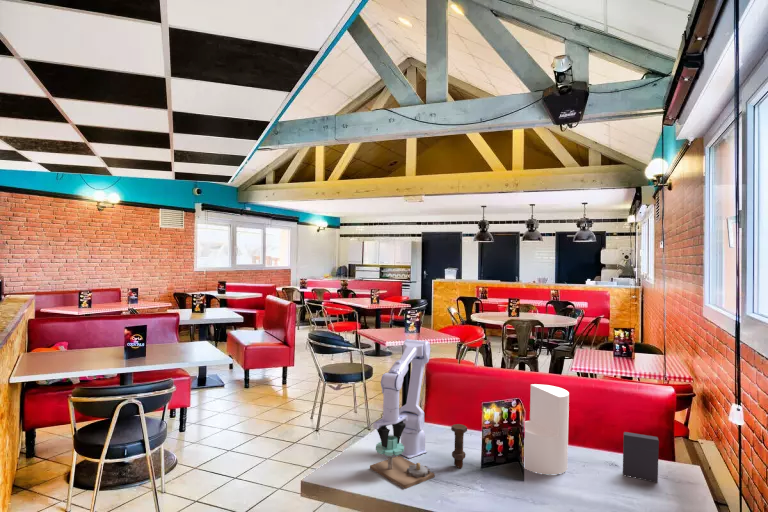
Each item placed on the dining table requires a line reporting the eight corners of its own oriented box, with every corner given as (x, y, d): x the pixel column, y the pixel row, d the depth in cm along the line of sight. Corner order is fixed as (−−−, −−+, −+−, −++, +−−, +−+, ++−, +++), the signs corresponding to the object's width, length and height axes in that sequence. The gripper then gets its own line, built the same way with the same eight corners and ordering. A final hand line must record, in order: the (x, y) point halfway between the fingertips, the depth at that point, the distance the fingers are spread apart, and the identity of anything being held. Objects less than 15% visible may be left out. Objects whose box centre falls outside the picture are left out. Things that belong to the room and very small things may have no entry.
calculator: (656, 478, 173) (657, 436, 173) (657, 483, 169) (658, 440, 169) (622, 471, 178) (623, 430, 177) (622, 476, 174) (623, 434, 174)
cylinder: (547, 453, 193) (549, 383, 193) (577, 471, 177) (579, 395, 176) (510, 458, 188) (511, 386, 187) (537, 478, 171) (539, 399, 171)
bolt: (465, 464, 181) (466, 424, 181) (466, 470, 176) (467, 429, 176) (450, 463, 182) (451, 423, 182) (450, 469, 177) (451, 428, 177)
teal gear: (391, 441, 181) (391, 430, 181) (409, 451, 173) (410, 439, 173) (370, 448, 174) (370, 436, 174) (388, 458, 167) (388, 446, 167)
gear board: (399, 458, 185) (399, 445, 185) (434, 477, 170) (434, 462, 170) (370, 468, 176) (370, 454, 176) (404, 488, 161) (405, 473, 161)
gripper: (399, 400, 181) (398, 436, 181) (368, 407, 172) (367, 445, 172) (411, 405, 176) (411, 442, 176) (380, 413, 166) (380, 452, 167)
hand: (390, 444), depth 173 cm, fingers closed on teal gear, 5 cm apart
